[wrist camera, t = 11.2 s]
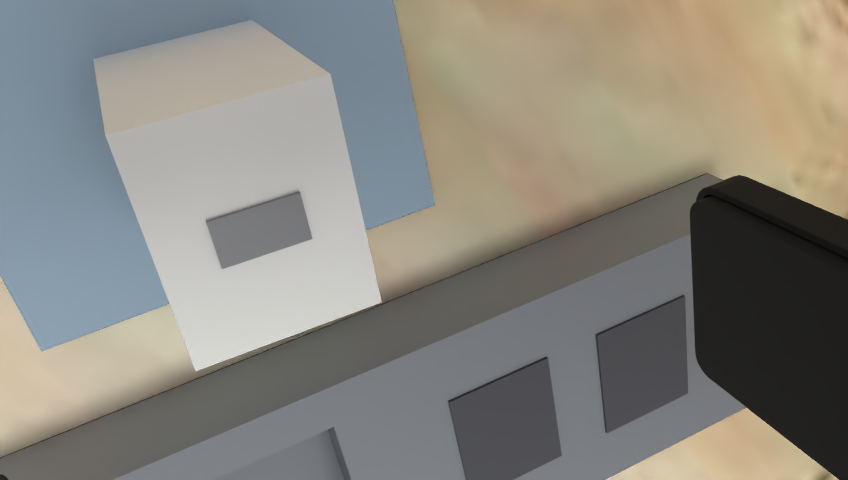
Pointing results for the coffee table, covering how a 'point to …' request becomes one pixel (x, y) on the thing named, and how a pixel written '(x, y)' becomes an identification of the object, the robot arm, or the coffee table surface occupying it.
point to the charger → (238, 186)
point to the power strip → (447, 377)
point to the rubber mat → (96, 168)
